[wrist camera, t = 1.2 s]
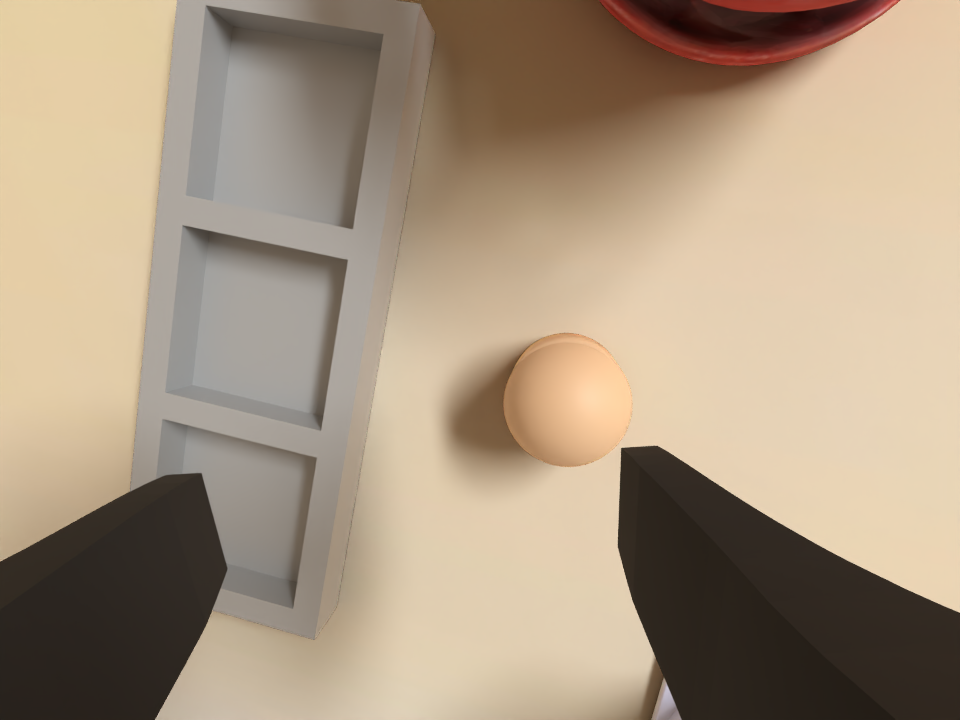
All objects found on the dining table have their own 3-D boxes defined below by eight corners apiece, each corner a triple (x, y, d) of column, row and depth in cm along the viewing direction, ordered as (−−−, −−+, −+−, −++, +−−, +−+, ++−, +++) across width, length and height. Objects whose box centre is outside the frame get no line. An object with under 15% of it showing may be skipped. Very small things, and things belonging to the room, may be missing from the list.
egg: (634, 346, 19) (656, 365, 15) (607, 452, 20) (620, 500, 16) (523, 322, 20) (513, 334, 15) (500, 427, 20) (484, 467, 16)
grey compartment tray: (435, 34, 19) (420, 3, 17) (336, 606, 22) (314, 639, 20) (220, -1, 20) (180, -34, 17) (159, 556, 23) (121, 583, 21)
